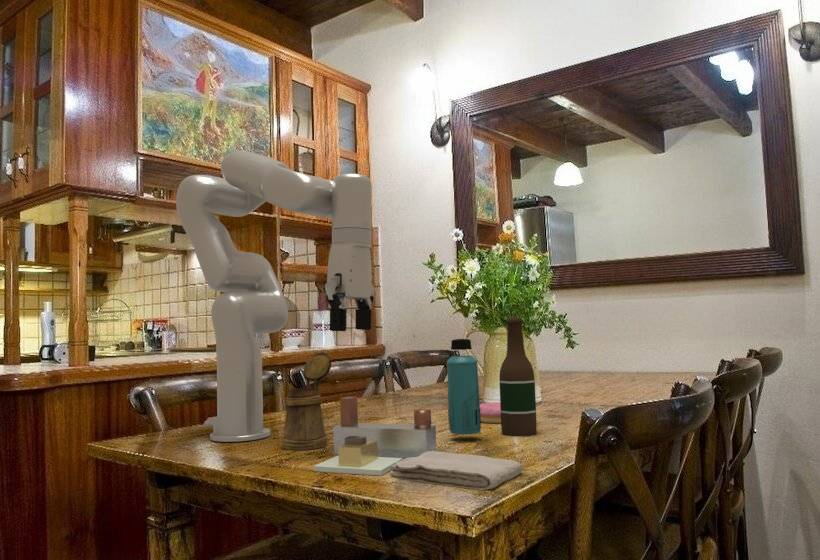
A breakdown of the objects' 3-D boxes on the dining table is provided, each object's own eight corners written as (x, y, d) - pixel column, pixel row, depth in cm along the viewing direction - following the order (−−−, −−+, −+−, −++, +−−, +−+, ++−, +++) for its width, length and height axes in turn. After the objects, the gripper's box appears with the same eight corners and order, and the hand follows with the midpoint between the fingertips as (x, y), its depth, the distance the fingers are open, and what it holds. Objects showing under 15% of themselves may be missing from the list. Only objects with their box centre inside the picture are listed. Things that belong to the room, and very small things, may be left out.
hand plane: (333, 454, 115) (332, 399, 115) (346, 449, 119) (345, 395, 120) (426, 459, 108) (425, 400, 109) (436, 453, 113) (434, 397, 113)
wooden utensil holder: (344, 438, 131) (342, 351, 132) (314, 451, 118) (312, 355, 120) (306, 437, 134) (304, 352, 135) (272, 449, 121) (271, 355, 122)
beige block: (338, 465, 102) (338, 440, 102) (356, 457, 108) (355, 433, 108) (361, 467, 100) (360, 441, 101) (377, 458, 106) (377, 434, 107)
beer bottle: (543, 431, 132) (538, 316, 134) (529, 437, 126) (524, 317, 127) (509, 429, 136) (504, 317, 138) (494, 435, 130) (489, 318, 131)
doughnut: (529, 423, 145) (528, 404, 145) (483, 426, 142) (483, 407, 142) (510, 416, 155) (509, 399, 156) (468, 419, 153) (467, 402, 153)
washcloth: (426, 465, 106) (425, 446, 107) (525, 476, 97) (525, 455, 97) (385, 480, 96) (384, 460, 97) (492, 495, 87) (491, 472, 87)
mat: (313, 471, 102) (313, 466, 102) (339, 459, 110) (339, 454, 110) (380, 475, 98) (380, 470, 98) (402, 463, 106) (402, 458, 106)
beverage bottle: (480, 442, 122) (476, 338, 123) (446, 442, 123) (442, 339, 125) (483, 436, 128) (479, 337, 130) (450, 436, 130) (447, 338, 131)
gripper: (356, 245, 129) (355, 328, 129) (310, 236, 113) (309, 331, 113) (389, 243, 126) (388, 329, 126) (346, 234, 110) (345, 332, 110)
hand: (351, 330), depth 119 cm, fingers open, 9 cm apart
